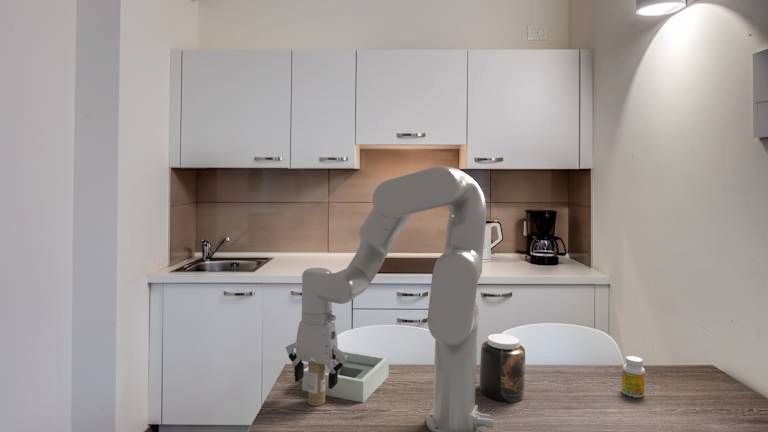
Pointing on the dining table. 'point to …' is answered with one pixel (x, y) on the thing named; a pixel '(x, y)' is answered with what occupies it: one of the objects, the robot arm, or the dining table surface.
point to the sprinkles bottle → (316, 383)
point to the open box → (355, 376)
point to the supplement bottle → (633, 377)
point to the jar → (502, 368)
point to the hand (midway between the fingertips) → (315, 383)
